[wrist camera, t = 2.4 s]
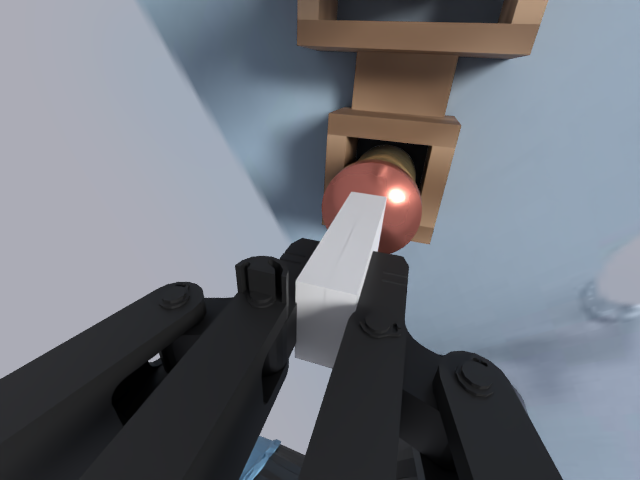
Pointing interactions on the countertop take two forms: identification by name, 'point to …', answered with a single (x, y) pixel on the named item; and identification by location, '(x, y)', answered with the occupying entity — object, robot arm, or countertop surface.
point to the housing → (409, 82)
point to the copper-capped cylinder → (380, 193)
